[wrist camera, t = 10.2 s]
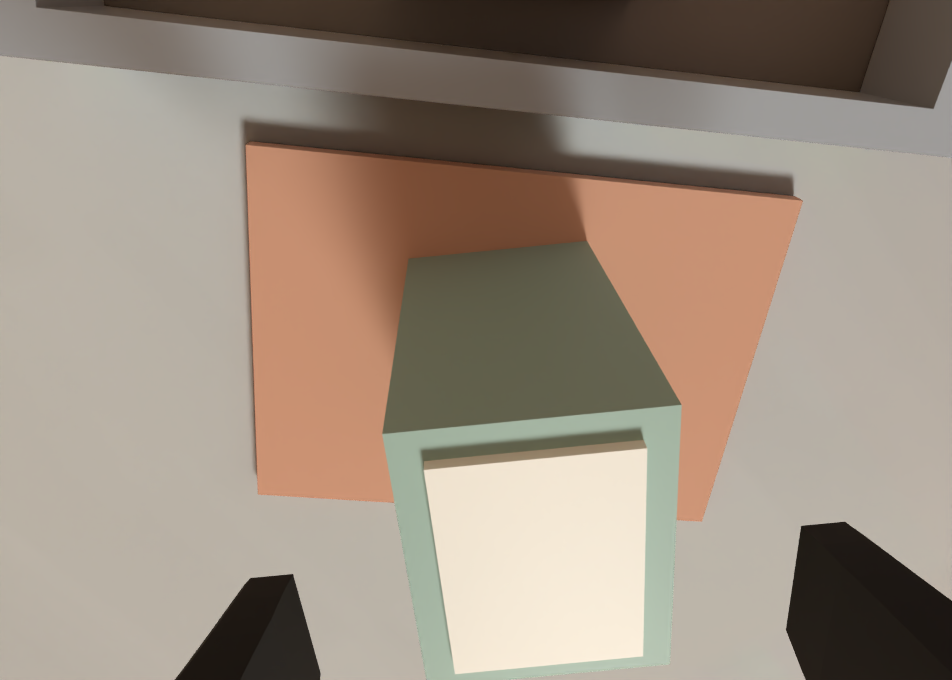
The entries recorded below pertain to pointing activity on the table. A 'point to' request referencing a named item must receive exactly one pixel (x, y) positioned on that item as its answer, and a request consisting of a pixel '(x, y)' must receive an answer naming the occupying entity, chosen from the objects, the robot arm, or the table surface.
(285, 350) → the mat
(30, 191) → the table surface
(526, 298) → the labelled box
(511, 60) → the parts bin
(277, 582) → the robot arm
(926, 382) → the table surface
